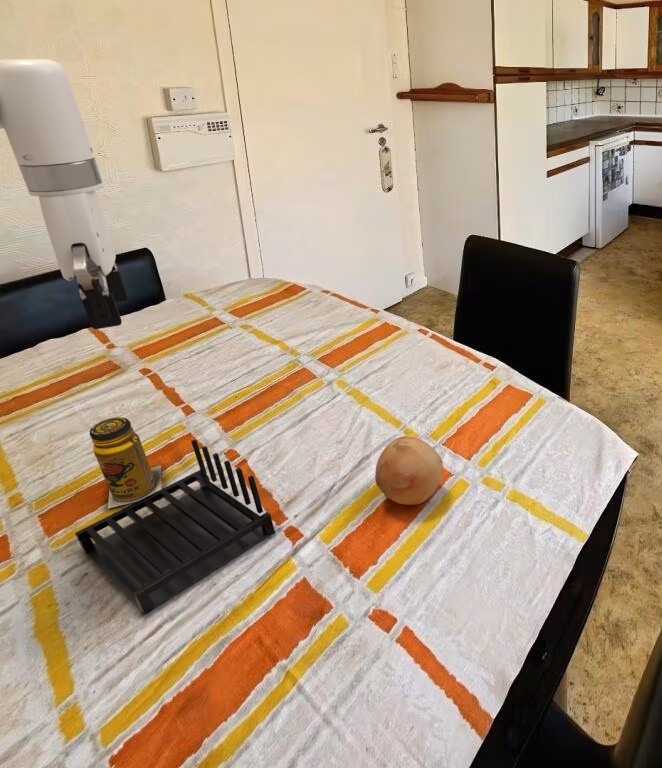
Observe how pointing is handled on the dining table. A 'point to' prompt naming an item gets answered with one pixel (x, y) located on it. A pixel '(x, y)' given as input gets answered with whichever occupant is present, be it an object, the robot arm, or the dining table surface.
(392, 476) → the onion
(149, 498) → the dish rack
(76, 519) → the dining table surface
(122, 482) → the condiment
